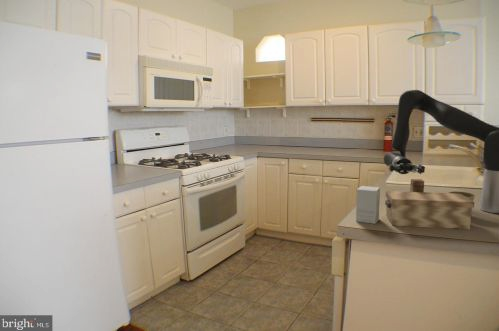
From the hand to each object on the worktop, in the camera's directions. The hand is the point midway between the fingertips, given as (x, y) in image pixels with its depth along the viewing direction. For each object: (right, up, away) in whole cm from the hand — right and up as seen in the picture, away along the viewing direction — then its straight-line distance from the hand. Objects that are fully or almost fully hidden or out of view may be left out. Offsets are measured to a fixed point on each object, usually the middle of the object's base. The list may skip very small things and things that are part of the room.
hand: (410, 171), depth 155 cm
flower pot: (+15, -18, -10) cm, 25 cm away
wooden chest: (-2, -18, -15) cm, 24 cm away
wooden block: (-2, -17, -9) cm, 19 cm away
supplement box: (-24, -19, -16) cm, 34 cm away
